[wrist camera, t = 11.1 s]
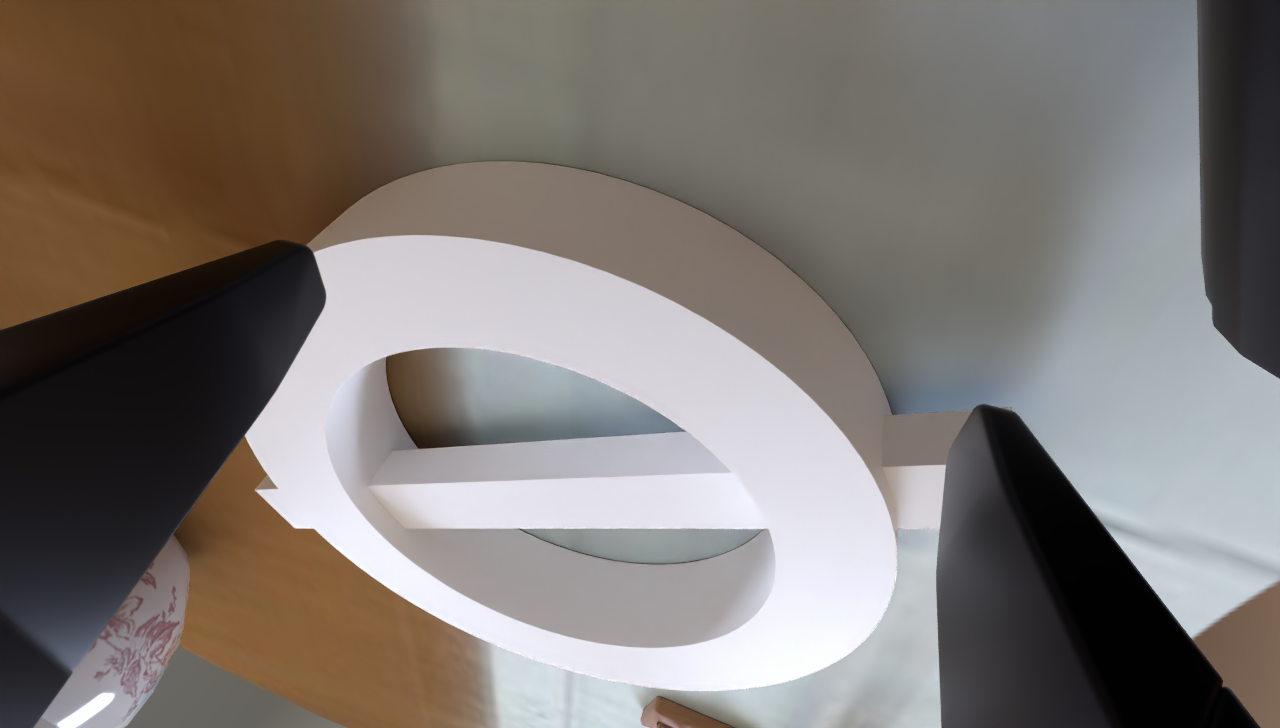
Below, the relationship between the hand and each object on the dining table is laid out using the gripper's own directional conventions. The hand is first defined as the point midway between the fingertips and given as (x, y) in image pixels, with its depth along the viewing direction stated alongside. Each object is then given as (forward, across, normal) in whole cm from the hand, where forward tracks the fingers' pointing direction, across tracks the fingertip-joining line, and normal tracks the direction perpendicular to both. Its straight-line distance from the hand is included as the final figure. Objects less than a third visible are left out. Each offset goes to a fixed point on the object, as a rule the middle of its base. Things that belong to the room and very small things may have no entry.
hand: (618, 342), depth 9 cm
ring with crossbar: (+13, +5, +19) cm, 24 cm away
